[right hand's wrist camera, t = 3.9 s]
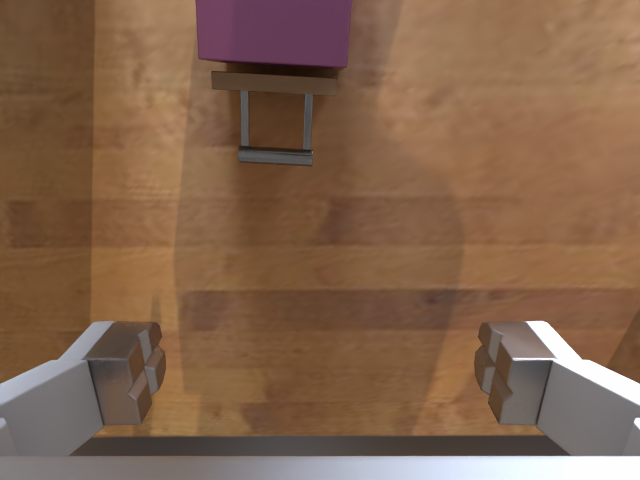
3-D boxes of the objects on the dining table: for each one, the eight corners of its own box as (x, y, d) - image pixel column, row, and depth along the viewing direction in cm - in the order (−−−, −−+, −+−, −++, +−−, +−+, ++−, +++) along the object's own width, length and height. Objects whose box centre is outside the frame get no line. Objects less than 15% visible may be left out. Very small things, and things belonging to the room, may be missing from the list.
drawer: (330, 157, 38) (331, 172, 32) (232, 152, 37) (214, 166, 32) (349, -146, 30) (354, -201, 24) (224, -153, 29) (199, -210, 24)
